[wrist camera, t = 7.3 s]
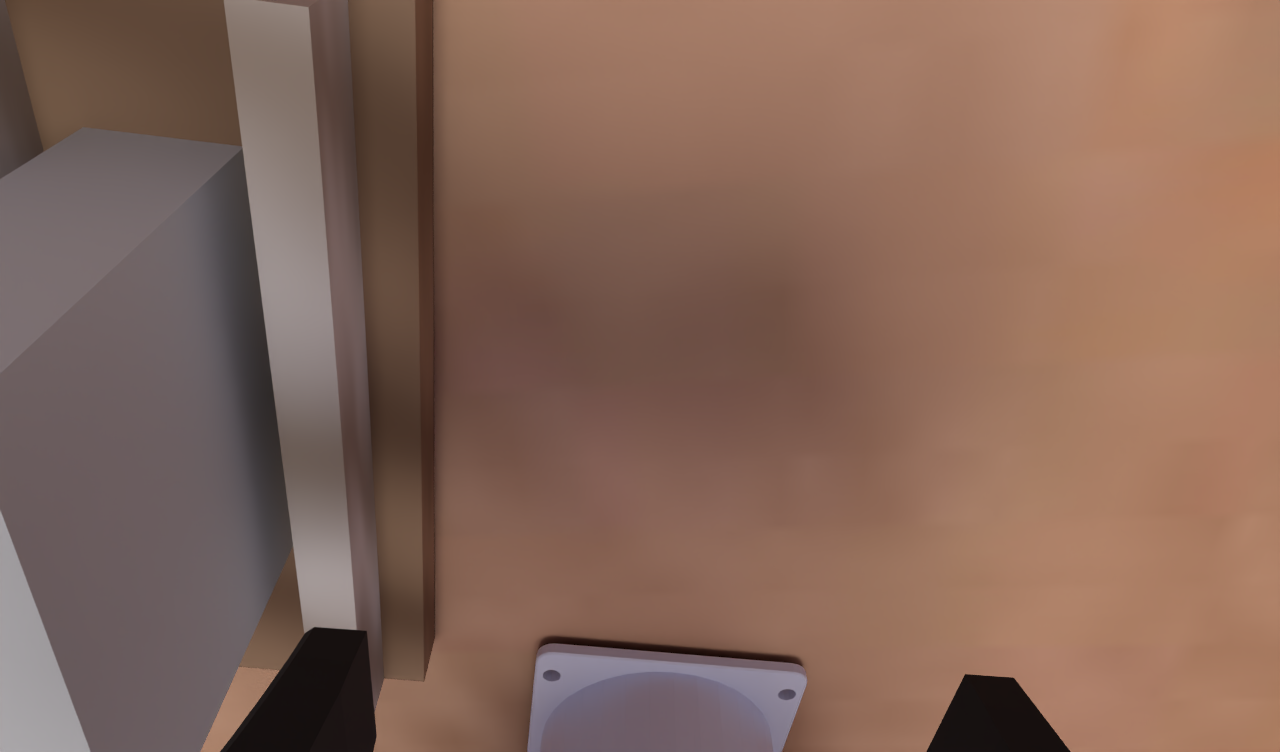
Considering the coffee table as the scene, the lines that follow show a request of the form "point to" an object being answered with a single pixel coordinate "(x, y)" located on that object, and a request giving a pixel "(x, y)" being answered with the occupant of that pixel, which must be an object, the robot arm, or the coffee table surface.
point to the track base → (293, 258)
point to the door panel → (131, 443)
